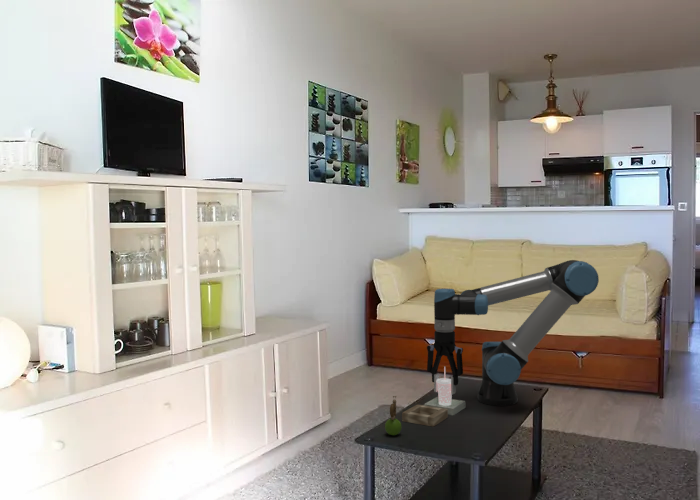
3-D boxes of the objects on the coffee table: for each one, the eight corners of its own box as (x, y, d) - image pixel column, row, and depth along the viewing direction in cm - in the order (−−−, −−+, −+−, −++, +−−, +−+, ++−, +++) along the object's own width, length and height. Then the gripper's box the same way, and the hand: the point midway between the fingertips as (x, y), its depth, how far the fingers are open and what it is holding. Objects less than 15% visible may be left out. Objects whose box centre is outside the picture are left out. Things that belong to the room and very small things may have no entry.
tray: (465, 407, 239) (465, 400, 239) (453, 415, 229) (453, 408, 229) (436, 403, 245) (436, 396, 245) (423, 410, 235) (423, 404, 235)
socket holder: (447, 417, 227) (447, 409, 227) (433, 426, 217) (433, 417, 217) (417, 412, 233) (417, 404, 233) (402, 421, 223) (402, 412, 223)
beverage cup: (433, 402, 239) (433, 365, 238) (448, 401, 241) (447, 364, 241) (442, 407, 233) (441, 369, 233) (456, 405, 235) (456, 367, 235)
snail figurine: (403, 431, 212) (402, 396, 211) (400, 438, 205) (400, 401, 205) (386, 430, 213) (386, 395, 212) (383, 437, 207) (383, 400, 206)
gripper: (416, 330, 238) (417, 391, 239) (465, 334, 228) (465, 398, 229) (425, 327, 244) (425, 387, 245) (472, 331, 234) (473, 393, 235)
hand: (444, 392), depth 237 cm, fingers closed on beverage cup, 6 cm apart
